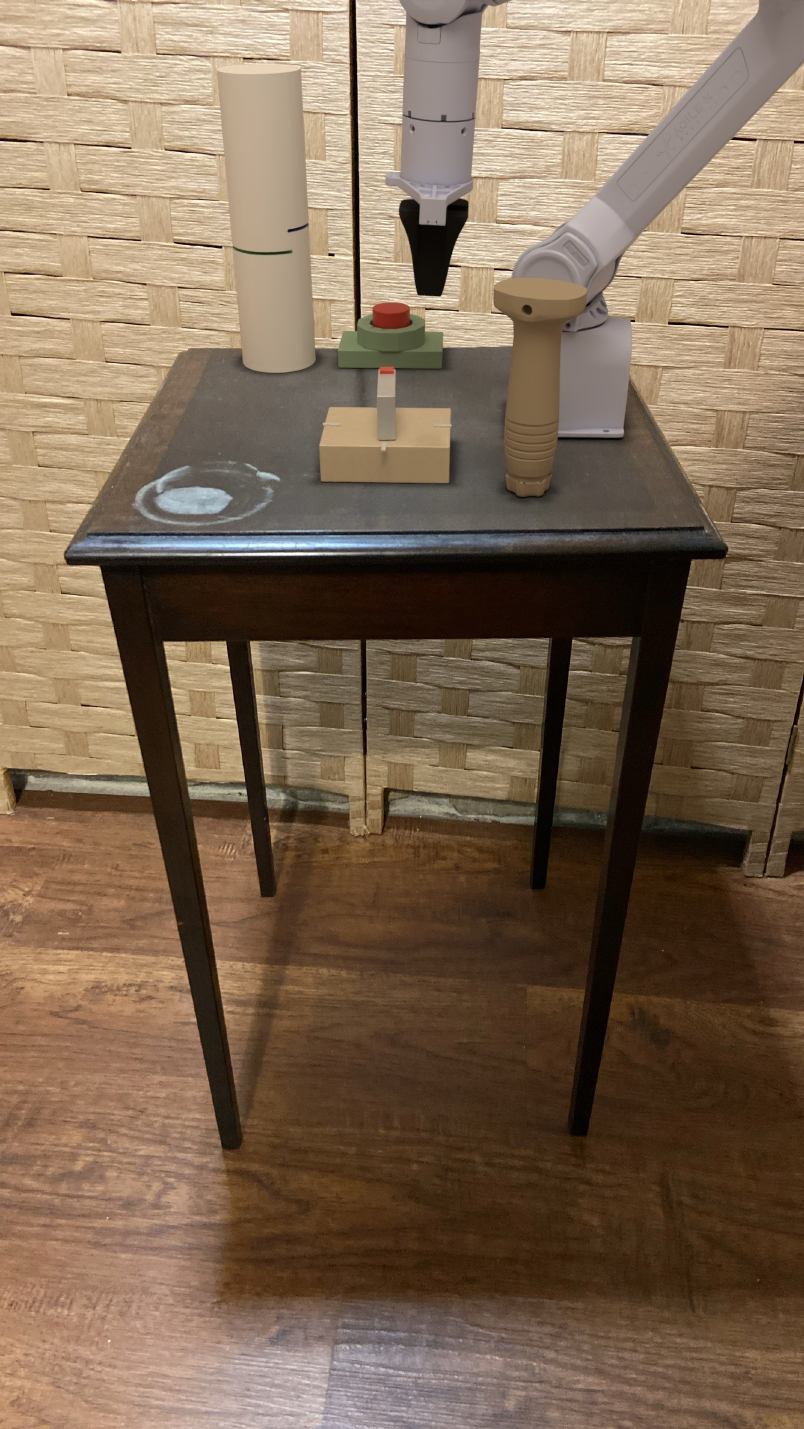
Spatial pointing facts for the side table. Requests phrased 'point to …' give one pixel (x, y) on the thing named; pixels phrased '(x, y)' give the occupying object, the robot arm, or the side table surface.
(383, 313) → the button
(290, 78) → the cylindrical container
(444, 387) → the side table surface
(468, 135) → the robot arm
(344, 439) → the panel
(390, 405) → the grey rectangular plate
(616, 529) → the side table surface
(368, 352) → the button block
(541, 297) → the handle
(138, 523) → the side table surface
